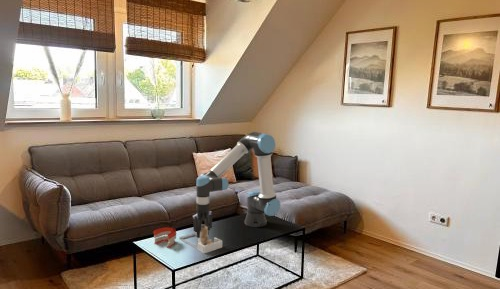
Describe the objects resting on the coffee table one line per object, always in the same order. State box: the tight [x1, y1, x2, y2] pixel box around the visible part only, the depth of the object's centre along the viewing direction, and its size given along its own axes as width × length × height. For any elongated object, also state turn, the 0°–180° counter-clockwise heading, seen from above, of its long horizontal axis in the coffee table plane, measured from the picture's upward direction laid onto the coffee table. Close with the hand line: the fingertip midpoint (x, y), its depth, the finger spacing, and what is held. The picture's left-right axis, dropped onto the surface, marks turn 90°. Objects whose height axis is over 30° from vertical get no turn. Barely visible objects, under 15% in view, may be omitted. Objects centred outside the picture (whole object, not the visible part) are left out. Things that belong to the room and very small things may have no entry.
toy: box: [153, 226, 177, 249], centre depth 217 cm, size 12×10×8 cm
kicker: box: [197, 223, 213, 246], centre depth 214 cm, size 8×6×12 cm
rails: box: [178, 232, 214, 249], centre depth 220 cm, size 12×20×1 cm, turn 44°
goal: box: [196, 237, 223, 254], centre depth 210 cm, size 13×6×4 cm, turn 134°
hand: (202, 241), depth 215 cm, fingers closed on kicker, 4 cm apart
